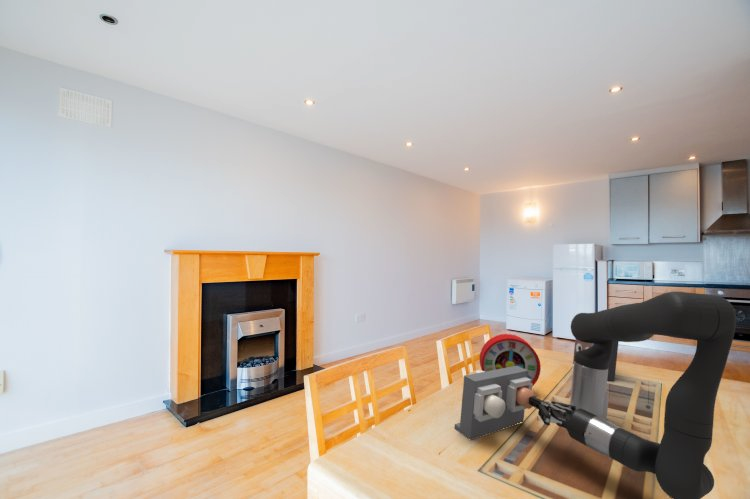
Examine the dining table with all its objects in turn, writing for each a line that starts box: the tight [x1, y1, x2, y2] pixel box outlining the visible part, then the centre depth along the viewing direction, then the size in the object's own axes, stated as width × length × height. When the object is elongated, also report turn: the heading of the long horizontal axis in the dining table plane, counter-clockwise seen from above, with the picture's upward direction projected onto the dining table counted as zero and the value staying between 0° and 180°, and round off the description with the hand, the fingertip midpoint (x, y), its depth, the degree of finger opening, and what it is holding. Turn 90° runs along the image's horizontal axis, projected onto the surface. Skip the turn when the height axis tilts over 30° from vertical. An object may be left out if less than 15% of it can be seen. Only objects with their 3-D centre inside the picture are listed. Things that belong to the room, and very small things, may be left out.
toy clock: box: [479, 333, 542, 387], centre depth 125 cm, size 20×6×20 cm, turn 80°
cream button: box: [483, 394, 505, 418], centre depth 92 cm, size 4×5×5 cm
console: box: [454, 366, 534, 441], centre depth 99 cm, size 22×8×16 cm, turn 120°
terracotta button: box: [516, 386, 537, 410], centre depth 98 cm, size 4×5×5 cm
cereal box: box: [572, 337, 620, 382], centre depth 149 cm, size 17×5×24 cm, turn 10°
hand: (530, 399), depth 96 cm, fingers closed
